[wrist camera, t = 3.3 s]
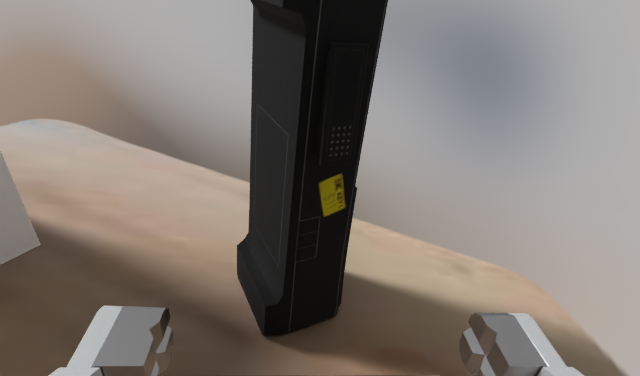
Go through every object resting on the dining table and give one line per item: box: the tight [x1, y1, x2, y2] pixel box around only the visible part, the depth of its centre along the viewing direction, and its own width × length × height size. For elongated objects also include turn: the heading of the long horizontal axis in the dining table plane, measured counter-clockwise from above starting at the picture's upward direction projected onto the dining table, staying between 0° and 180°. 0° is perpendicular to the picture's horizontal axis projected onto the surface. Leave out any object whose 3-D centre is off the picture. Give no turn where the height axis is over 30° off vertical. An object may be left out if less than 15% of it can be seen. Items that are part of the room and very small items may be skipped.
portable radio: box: [237, 0, 388, 335], centre depth 21 cm, size 8×6×25 cm
